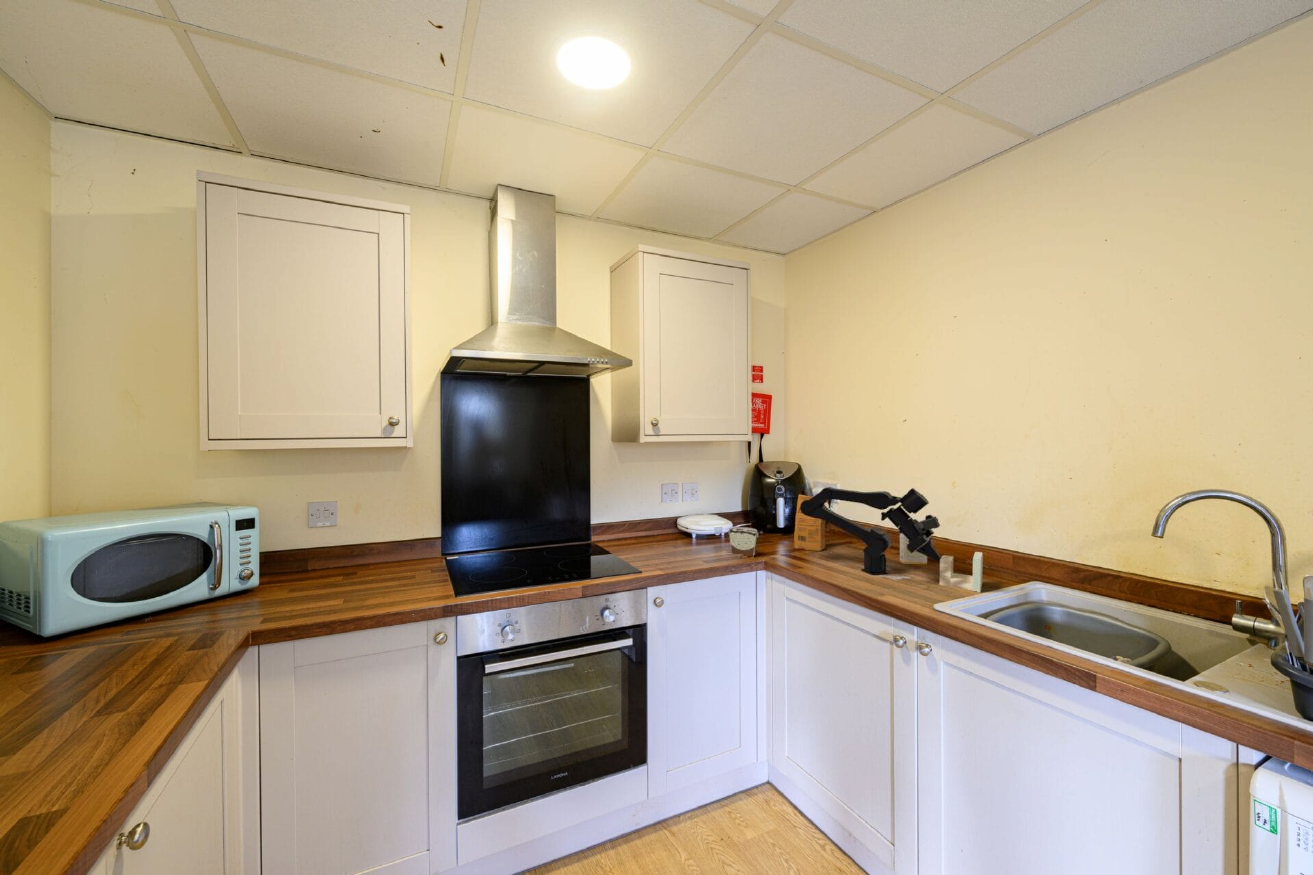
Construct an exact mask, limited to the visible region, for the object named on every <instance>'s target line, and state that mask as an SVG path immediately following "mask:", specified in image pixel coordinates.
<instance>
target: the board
mask: <svg viewBox="0 0 1313 875" xmlns="http://www.w3.org/2000/svg"><path fill="white" fill-rule="evenodd" d="M983 558H984V556H983V552H981V551H975V552H974V554H973V557H972V576H973V589H972V590H971V592H973V591H977V592H976V593H981V591H982V586H983V562H984V560H983Z"/></svg>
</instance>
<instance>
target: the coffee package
mask: <svg viewBox="0 0 1313 875" xmlns="http://www.w3.org/2000/svg"><path fill="white" fill-rule="evenodd" d="M814 496H815V495H813V496H809V495H804V494H798V499H797V505H796V513H795V522H794V525H795V526H794V533H793V543H794V544H793V546H794V547H793V548H794V549H795V548H796V549H797V550H798V549H799V550H800V549H801V550H805V551H808V550H809V551H811V552H821V551H822V550H824V549H825V548H826V538H825V532H826V530H825V529H826V528H825V527H826V521H824V520H821V519H817V518H812V517H809V516H806V515H804V514H803V513H802V512H801V510H800V505H801V503H802V502H803V501H805V500H808V499H811V498H812V497H814ZM824 505H825V506H826V503H825V504H824ZM796 549H795V550H796ZM809 551H808V552H809Z"/></svg>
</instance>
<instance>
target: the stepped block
mask: <svg viewBox="0 0 1313 875" xmlns="http://www.w3.org/2000/svg"><path fill="white" fill-rule="evenodd" d="M940 557H941V559H940V562H939V586H943V587H949V588H955V589H956V588H957V589H962V590H969V591H972V589H973V575H968V574H962V573H956V572H955V573H954V555H945V554H942V556H940Z"/></svg>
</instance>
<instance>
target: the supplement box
mask: <svg viewBox="0 0 1313 875" xmlns="http://www.w3.org/2000/svg"><path fill="white" fill-rule="evenodd" d="M908 541H909V540H908V539H907V538H906V537H905V536H904V535H903V534H902V533H901V534H900V533H899V562H900V563H902V564H903V565H922V566H923V565H925V566H927V565H928V556H926V555H923V554H921V553H919V552H916V550H915V551H914V552H913V553H911V552H910V551H909V550H908V549H907V544H908V543H909V542H908Z"/></svg>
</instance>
